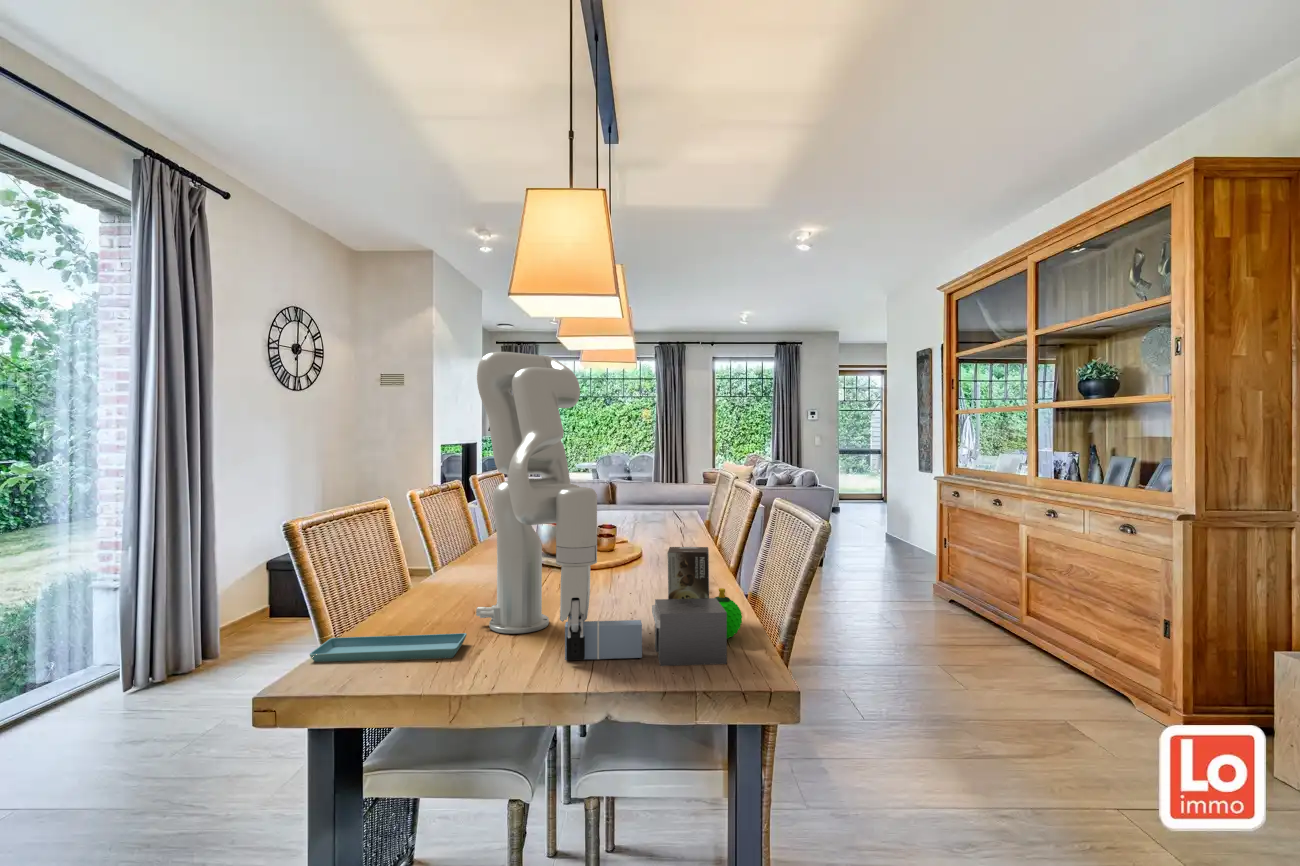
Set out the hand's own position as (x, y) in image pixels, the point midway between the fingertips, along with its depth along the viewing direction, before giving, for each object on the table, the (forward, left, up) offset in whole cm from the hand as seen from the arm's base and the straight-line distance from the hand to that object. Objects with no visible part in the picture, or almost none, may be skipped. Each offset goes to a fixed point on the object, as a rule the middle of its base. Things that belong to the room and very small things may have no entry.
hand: (576, 651), depth 112 cm
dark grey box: (+21, 0, -1) cm, 21 cm away
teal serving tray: (-35, +6, -2) cm, 35 cm away
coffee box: (+24, +21, -1) cm, 32 cm away
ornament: (+29, +9, -1) cm, 30 cm away
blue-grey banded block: (+5, 0, -1) cm, 5 cm away
